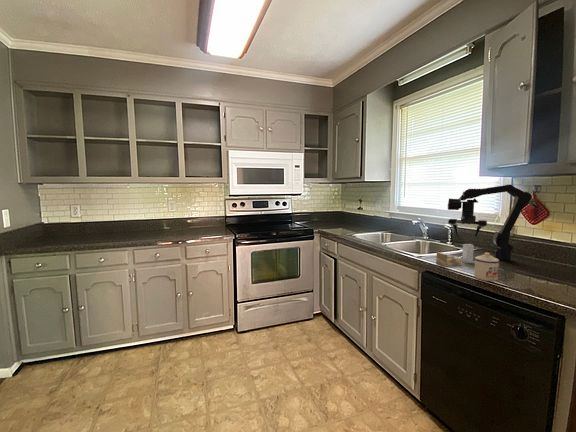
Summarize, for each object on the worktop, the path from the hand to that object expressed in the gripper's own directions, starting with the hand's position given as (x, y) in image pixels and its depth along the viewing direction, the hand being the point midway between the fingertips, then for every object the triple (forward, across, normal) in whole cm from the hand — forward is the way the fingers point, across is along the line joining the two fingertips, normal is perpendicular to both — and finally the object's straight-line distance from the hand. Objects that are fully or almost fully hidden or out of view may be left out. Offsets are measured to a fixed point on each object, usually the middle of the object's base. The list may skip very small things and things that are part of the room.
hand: (466, 236), depth 164 cm
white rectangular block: (+12, +2, -14) cm, 19 cm away
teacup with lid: (+12, +12, -40) cm, 44 cm away
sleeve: (+12, -6, -24) cm, 27 cm away
